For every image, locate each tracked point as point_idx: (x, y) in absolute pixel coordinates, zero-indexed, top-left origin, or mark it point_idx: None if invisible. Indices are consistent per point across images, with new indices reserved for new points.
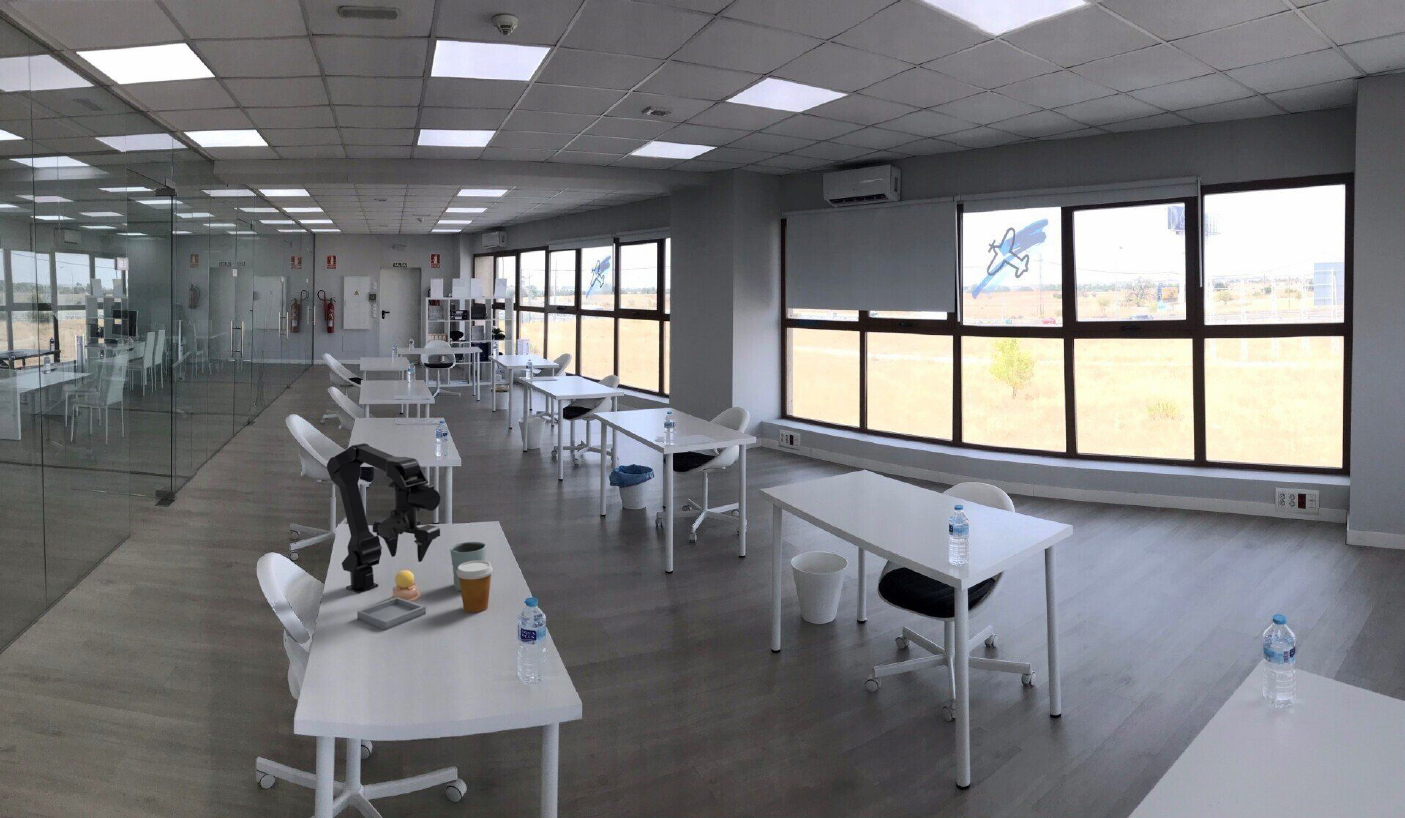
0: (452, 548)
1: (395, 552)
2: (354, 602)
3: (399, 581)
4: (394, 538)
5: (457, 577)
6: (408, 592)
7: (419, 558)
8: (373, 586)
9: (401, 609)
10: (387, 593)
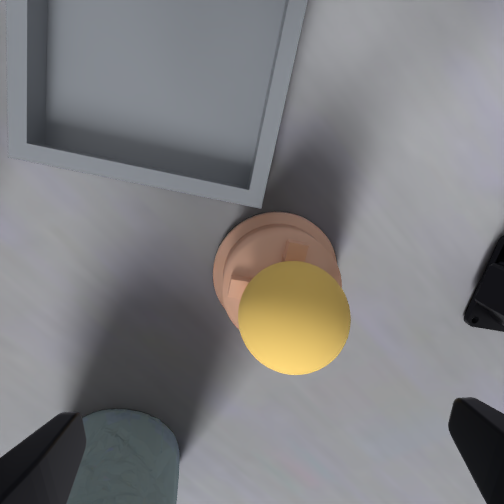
0: None
1: (474, 466)
2: (461, 142)
3: (287, 267)
4: None
5: (104, 461)
6: (231, 260)
7: (15, 448)
8: (474, 297)
9: (168, 133)
10: (381, 279)
